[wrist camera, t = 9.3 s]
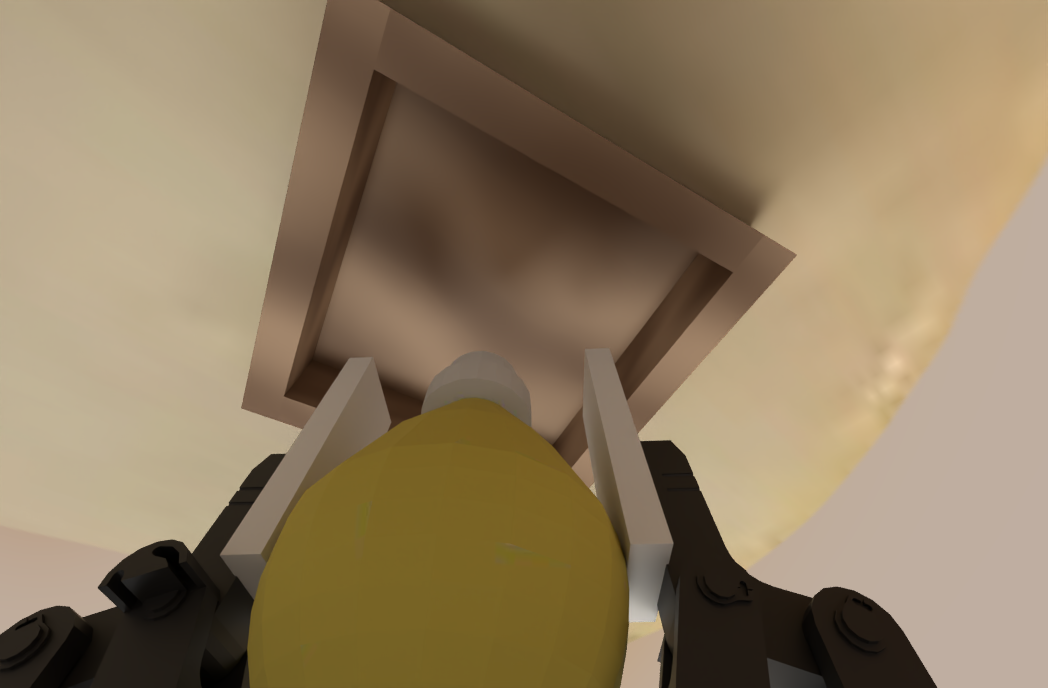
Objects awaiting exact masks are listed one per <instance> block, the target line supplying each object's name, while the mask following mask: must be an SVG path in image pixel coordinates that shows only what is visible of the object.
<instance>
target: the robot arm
mask: <svg viewBox="0 0 1048 688" xmlns="http://www.w3.org/2000/svg"><path fill="white" fill-rule="evenodd" d="M583 421H584V426H585V432H586V437H587V443H588V449H589V454H590V460H591V466H592V471H593V477H594V483H595V488H596V494H597V499H598V500H599V501H600V502H601V503H602V505H603V507H604V509H605V511H606V513H607V515H608V517H609V519H610V521H611V523H612V525H613V527H614V529H615V531H616V533H617V535H618V538H619V541H620V544H621V548H622V551H623V554H624V557H625V561H626V568H627V576H628V583H629V622H655V621H656V617H657V612H658V610H659V614H660V618H661V622H662V626H663V630H664V633H665V634H664V638H663V642H662V646H661V649H660V653H659V657H658V662H661V667H660V681H659V688H937V686H936V685H935V683H934V682H933V680H932V678H931V676H930V675H929V673H928V672H927V670H926V668H925V667H924V665H923V663H922V662H921V660H920V658H919V657H918V655H917V654H916V652H915V650H914V649H913V647H912V645H911V644H910V642H909V640H908V638H907V637H906V635H905V634H904V632H903V631H902V629H901V628H900V627H899V626H898V624H897V623H896V622H895V620H894V619H893V618H892V617H891V615H890V614H889V613H887V612H886V611H885V610H884V609H883V608H881V607H880V606H879V605H878V604H877V603H875V602H874V601H873V600H871V599H869V598H867V597H865V596H863V595H861V594H860V593H858V592H856V591H854V590H849V589H845V588H841V587H830V588H823V589H822V590H821V591H820V592H818V593H817V594H816V595H815V596H814V597H813V598H811V597H807V596H804V595H801V594H797V593H793V592H790V591H787V590H783V589H780V588H776V587H773V586H771V585H768V584H766V583H763V582H761V581H759V580H757V579H756V578H754V577H752V576H751V575H749V574H748V573H747V571H746V570H745V569H744V568H742V567H741V566H740V565H739V564H737V563H736V562H735V561H734V559H733V558H732V557H731V556H730V554H729V552H728V550H727V549H726V547H725V545H724V542H723V540H722V538H721V535H720V533H719V531H718V529H717V526H716V524H715V522H714V520H713V517H712V515H711V513H710V510H709V508H708V506H707V504H706V501H705V499H704V497H703V495H702V492H701V491H700V490H699V485H698V483H697V481H696V479H695V476H693V472H692V470H691V467H690V465H689V463H688V461H687V458H686V456H685V455H684V454H683V453H682V452H681V451H680V450H679V449H678V448H677V447H676V446H675V445H674V444H673V443H672V442H671V441H670V440H666V441H640V440H639V437H638V434H637V431H636V428H635V425H634V422H633V419H632V416H631V413H630V409H629V406H628V403H627V400H626V397H625V394H624V391H623V388H622V385H621V382H620V379H619V376H618V373H617V370H616V367H615V364H614V361H613V358H612V355H611V352H610V349H609V348H601V349H585V364H584V392H583ZM390 424H391V419H390V416H389V412H388V409H387V405H386V401H385V398H384V394H383V391H382V387H381V383H380V380H379V376H378V373H377V369H376V366H375V362H374V358H373V357H361V358H349V359H348V361H347V362H346V364H345V366H344V367H343V369H342V370H341V372H340V373H339V375H338V376H337V378H336V379H335V381H334V382H333V384H332V385H331V387H330V388H329V390H328V391H327V393H326V394H325V396H324V397H323V399H322V400H321V402H320V403H319V405H318V407H317V408H316V410H315V411H314V413H313V414H312V416H311V417H310V419H309V420H308V422H307V423H306V425H305V426H304V428H303V429H302V431H301V432H300V434H299V435H298V437H297V438H296V440H295V441H294V443H293V444H292V446H291V447H290V449H289V451H288V452H287V454H271V455H270V456H268V457H267V458H266V459H265V460H264V461H262V462H261V463H260V464H259V465H258V466H256V467H255V468H254V469H253V470H252V471H251V472H250V474H249V475H248V477H247V478H246V479H245V481H244V482H243V484H242V485H241V486H240V490H239V491H237V492H236V493H235V495H234V496H233V497H232V499H231V500H230V502H229V506H226V507H225V509H224V510H223V511H222V513H221V514H220V515H219V517H218V518H217V520H216V521H215V522H214V524H213V525H212V527H211V528H210V529H209V531H208V532H207V534H206V535H205V536H204V538H203V539H202V540H201V542H200V543H199V545H198V546H197V547H196V549H195V550H194V552H193V553H192V554H191V552H190V551H189V550H188V548H187V547H186V546H185V545H184V543H183V542H180V541H176V540H166V541H159V542H156V543H153V544H151V545H148V546H146V547H143V548H141V549H139V550H137V551H136V552H134V553H133V554H131V555H130V556H128V557H126V558H125V559H123V560H122V561H121V562H120V563H119V564H118V565H117V566H116V567H114V569H112V570H111V571H110V572H109V573H108V574H107V575H106V577H105V578H104V580H103V581H102V582H101V584H100V585H99V586H98V589H99V590H100V591H101V592H102V593H103V594H105V595H106V596H107V597H108V598H109V599H110V600H111V601H112V602H113V603H114V604H115V605H116V606H117V607H114V608H111V609H108V610H105V611H102V612H98V613H95V614H92V615H89V616H86V617H81V616H80V615H78V614H77V613H76V612H75V611H74V610H73V609H71V608H70V607H66V606H54V607H51V608H47V609H43V610H40V611H38V612H36V613H34V614H32V615H30V616H28V617H26V618H24V619H22V620H20V621H19V622H17V623H16V624H15V625H13V626H12V627H10V628H9V629H8V630H6V631H5V632H3V633H2V634H1V635H0V688H250V681H249V666H248V651H247V647H248V637H249V628H250V618H251V610H252V606H253V603H254V599H255V595H256V592H257V588H258V584H259V581H260V577H261V575H262V573H263V570H264V568H265V566H266V564H267V561H268V559H269V557H270V555H271V553H272V550H273V548H274V546H275V544H276V542H277V540H278V538H279V535H280V533H281V531H282V529H283V527H284V525H285V523H286V521H287V519H288V516H289V515H290V513H291V512H292V510H293V509H294V507H295V506H296V504H297V503H298V501H299V500H300V498H301V496H302V495H303V493H304V492H305V491H306V490H307V489H308V488H310V487H311V486H312V485H314V484H315V483H316V482H317V481H319V480H320V479H321V478H323V477H324V476H325V475H327V474H328V473H329V472H330V471H332V470H333V469H334V468H336V467H337V466H338V465H340V464H341V463H342V462H344V461H345V460H347V459H348V458H350V457H351V456H353V455H354V454H356V453H357V452H359V451H360V450H362V449H363V448H365V447H366V446H367V445H369V444H370V443H372V442H373V441H375V440H376V439H378V438H379V437H381V436H382V435H384V434H385V433H387V432H388V429H389V427H390Z"/></svg>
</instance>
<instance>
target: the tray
mask: <svg viewBox="0 0 1048 688" xmlns="http://www.w3.org/2000/svg"><path fill="white" fill-rule="evenodd" d="M796 256H797V255H796V254H795V253H793V252H791V251H790V250H788V249H786V248H785V247H783V246H781V245H780V244H778V243H777V242H775V241H773V240H772V239H770V238H768V237H767V236H765V235H763V234H762V233H760V232H758V231H757V230H755V229H754V228H752V227H750V226H749V225H747V224H745V223H744V222H742V221H740V220H739V219H737V218H735V217H734V216H732V215H731V214H729V213H727V212H726V211H724V210H722V209H721V208H719V207H717V206H716V205H714V204H712V203H711V202H709V201H707V200H706V199H704V198H703V197H701V196H699V195H698V194H696V193H694V192H693V191H691V190H689V189H688V188H686V187H684V186H683V185H681V184H680V183H678V182H676V181H675V180H673V179H671V178H670V177H668V176H666V175H665V174H663V173H661V172H660V171H658V170H656V169H655V168H653V167H652V166H650V165H648V164H647V163H645V162H643V161H642V160H640V159H638V158H637V157H635V156H633V155H632V154H630V153H629V152H627V151H625V150H624V149H622V148H620V147H619V146H617V145H615V144H614V143H612V142H610V141H609V140H607V139H605V138H604V137H602V136H601V135H599V134H597V133H596V132H594V131H592V130H591V129H589V128H587V127H586V126H584V125H582V124H581V123H579V122H578V121H576V120H574V119H573V118H571V117H569V116H568V115H566V114H564V113H563V112H561V111H559V110H558V109H556V108H554V107H553V106H551V105H550V104H548V103H546V102H545V101H543V100H541V99H540V98H538V97H536V96H535V95H533V94H531V93H530V92H528V91H527V90H525V89H523V88H522V87H520V86H518V85H517V84H515V83H513V82H512V81H510V80H508V79H507V78H505V77H503V76H502V75H500V74H499V73H497V72H495V71H494V70H492V69H490V68H489V67H487V66H485V65H484V64H482V63H480V62H479V61H477V60H476V59H474V58H472V57H471V56H469V55H467V54H466V53H464V52H462V51H461V50H459V49H457V48H456V47H454V46H452V45H451V44H449V43H448V42H446V41H444V40H443V39H441V38H439V37H438V36H436V35H434V34H433V33H431V32H429V31H428V30H426V29H425V28H423V27H421V26H420V25H418V24H416V23H415V22H413V21H411V20H410V19H408V18H406V17H405V16H403V15H401V14H400V13H398V12H397V11H395V10H393V9H392V8H390V7H388V6H387V5H385V4H383V3H382V2H380V1H378V0H327V5H326V10H325V14H324V19H323V24H322V29H321V33H320V38H319V43H318V48H317V52H316V57H315V62H314V66H313V71H312V76H311V81H310V85H309V90H308V95H307V100H306V104H305V109H304V114H303V119H302V123H301V128H300V133H299V137H298V142H297V147H296V152H295V156H294V161H293V166H292V171H291V175H290V180H289V185H288V190H287V194H286V199H285V204H284V208H283V213H282V218H281V223H280V227H279V232H278V237H277V242H276V246H275V251H274V256H273V261H272V265H271V270H270V275H269V279H268V284H267V289H266V294H265V298H264V303H263V308H262V313H261V317H260V322H259V327H258V332H257V336H256V341H255V346H254V350H253V355H252V360H251V365H250V369H249V374H248V379H247V384H246V388H245V393H244V398H243V403H242V407H241V408H242V409H245V410H248V411H251V412H254V413H257V414H260V415H263V416H266V417H269V418H272V419H274V420H277V421H280V422H283V423H286V424H289V425H292V426H295V427H298V428H301V429H303V428H304V426H305V425H306V423H307V422H308V420H309V419H310V417H311V416H312V414H313V413H314V411H315V410H316V408H317V407H318V405H319V403H320V402H321V400H322V399H323V397H324V396H325V394H326V393H327V391H328V390H329V388H330V387H331V385H332V384H333V382H334V381H335V379H336V378H337V376H338V375H339V373H340V372H341V370H342V369H343V367H344V366H345V364H346V362H347V361H348V359H349V358H361V357H373V358H374V362H375V366H376V369H377V373H378V376H379V380H380V383H381V387H382V391H383V394H384V398H385V401H386V405H387V409H388V412H389V416H390V419H391V424H390V427H389V429H388V431H390V430H391V429H392V428H394V427H395V426H397V425H398V424H400V423H401V422H403V421H405V420H408V419H410V418H413V417H416V416H418V415H421V410H422V405H423V402H424V399H425V396H426V393H427V390H428V387H429V385H430V384H431V382H432V380H433V379H434V377H435V376H436V375H437V374H439V373H440V372H441V371H442V370H444V369H445V368H446V367H448V366H451V364H452V362H453V361H455V360H456V359H457V358H458V357H460V356H461V355H464V354H467V353H469V352H476V351H485V352H491V353H495V354H497V355H499V356H501V357H503V358H505V359H506V360H507V361H508V362H509V363H510V364H511V365H512V366H513V368H514V370H515V372H516V374H517V376H518V377H519V378H521V379H522V380H523V381H524V383H525V385H526V387H527V389H528V391H529V393H530V400H531V419H532V426H531V428H532V429H533V430H535V431H536V432H537V433H538V434H539V435H540V436H542V437H543V438H544V439H545V440H546V441H547V442H548V443H550V444H551V445H552V446H553V447H554V448H555V449H556V451H557V452H558V453H559V454H560V455H561V456H562V458H563V459H564V460H565V461H566V462H567V464H568V465H569V466H570V467H571V468H572V469H573V471H574V472H575V473H576V474H577V475H578V476H579V478H580V479H581V480H582V481H583V482H584V483H585V485H586V486H587V487H588V488H589V487H590V486H591V485H592V484H593V483H594V477H593V471H592V466H591V460H590V454H589V449H588V443H587V437H586V432H585V426H584V421H583V392H584V364H585V349H601V348H609V349H610V352H611V355H612V358H613V361H614V364H615V367H616V370H617V373H618V376H619V379H620V382H621V385H622V388H623V391H624V394H625V397H626V400H627V403H628V406H629V409H630V413H631V416H632V419H633V422H634V425H635V428H636V431H637V434H638V433H639V431H640V430H641V429H642V428H643V427H644V426H645V425H646V424H647V422H648V421H649V420H650V419H651V418H652V417H653V416H654V415H655V414H656V412H657V411H658V410H659V409H660V408H661V407H662V406H663V405H664V403H665V402H666V401H667V400H668V399H669V398H670V397H671V396H672V394H673V393H674V392H675V391H676V390H677V389H678V388H679V387H680V386H681V384H682V383H683V382H684V381H685V380H686V379H687V378H688V377H689V375H690V374H691V373H692V372H693V371H694V370H695V369H696V368H697V366H698V365H699V364H700V363H701V362H702V361H703V360H704V359H705V357H706V356H707V355H708V354H709V353H710V352H711V351H712V350H713V349H714V347H715V346H716V345H717V344H718V343H719V342H720V341H721V340H722V338H723V337H724V336H725V335H726V334H727V333H728V332H729V331H730V329H731V328H732V327H733V326H734V325H735V324H736V323H737V322H738V321H739V319H740V318H741V317H742V316H743V315H744V314H745V313H746V312H747V310H748V309H749V308H750V307H751V306H752V305H753V304H754V303H755V301H756V300H757V299H758V298H759V297H760V296H761V295H762V294H763V293H764V291H765V290H766V289H767V288H768V287H769V286H770V285H771V284H772V282H773V281H774V280H775V279H776V278H777V277H778V276H779V275H780V273H781V272H782V271H783V270H784V269H785V268H786V267H787V266H788V264H789V263H790V262H791V261H792V260H793V259H794V258H795V257H796Z"/></svg>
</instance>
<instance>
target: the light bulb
mask: <svg viewBox="0 0 1048 688" xmlns="http://www.w3.org/2000/svg"><path fill="white" fill-rule="evenodd" d="M531 426H532V419H531V400H530V393H529V391H528V389H527V387H526V385H525V383H524V381H523V380H522V379H521V378H519V377H518V376H517V374H516V372H515V370H514V368H513V366H512V365H511V364H510V363H509V362H508V361H507V360H506V359H505V358H503V357H501V356H499V355H497V354H495V353H491V352H485V351H476V352H469V353H467V354H464V355H461V356H460V357H458V358H457V359H456V360H455V361H453V362H452V364H451V366H448V367H446V368H445V369H444V370H442V371H441V372H440V373H439V374H437V375H436V376H435V377H434V379H433V380H432V382H431V384H430V385H429V387H428V390H427V393H426V396H425V399H424V402H423V405H422V410H421V415H418V416H416V417H413V418H410V419H408V420H405V421H403V422H401V423H400V424H398V425H397V426H395V427H394V428H392V429H391V430H390V431H388V432H387V433H385V434H384V435H382V436H381V437H379V438H378V439H376V440H375V441H373V442H372V443H370V444H369V445H367V446H366V447H365V448H363V449H362V450H360V451H359V452H357V453H356V454H354V455H353V456H351V457H350V458H348V459H347V460H345V461H344V462H342V463H341V464H340V465H338V466H337V467H336V468H334V469H333V470H332V471H330V472H329V473H328V474H327V475H325V476H324V477H323V478H321V479H320V480H319V481H317V482H316V483H315V484H314V485H312V486H311V487H310V488H308V489H307V490H306V491H305V492H304V493H303V495H302V496H301V498H300V500H299V501H298V503H297V504H296V506H295V507H294V509H293V510H292V512H291V513H290V515H289V516H288V519H287V521H286V523H285V525H284V527H283V529H282V531H281V533H280V535H279V538H278V540H277V542H276V544H275V546H274V548H273V550H272V553H271V555H270V557H269V559H268V561H267V564H266V566H265V568H264V570H263V573H262V575H261V577H260V581H259V584H258V588H257V592H256V595H255V599H254V603H253V606H252V610H251V618H250V628H249V637H248V647H247V651H248V666H249V681H250V688H620V685H621V679H622V674H623V668H624V662H625V657H626V650H627V638H628V627H629V583H628V576H627V568H626V561H625V557H624V554H623V551H622V548H621V544H620V541H619V538H618V535H617V533H616V531H615V529H614V527H613V525H612V523H611V521H610V519H609V517H608V515H607V513H606V511H605V509H604V507H603V505H602V503H601V502H600V501H599V500H598V499H597V497H596V496H595V495H594V494H593V493H592V492H591V490H590V489H589V488H588V487H587V486H586V485H585V483H584V482H583V481H582V480H581V479H580V478H579V476H578V475H577V474H576V473H575V472H574V471H573V469H572V468H571V467H570V466H569V465H568V464H567V462H566V461H565V460H564V459H563V458H562V456H561V455H560V454H559V453H558V452H557V451H556V449H555V448H554V447H553V446H552V445H551V444H550V443H548V442H547V441H546V440H545V439H544V438H543V437H542V436H540V435H539V434H538V433H537V432H536V431H535V430H533V429H532V428H531Z"/></svg>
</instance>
